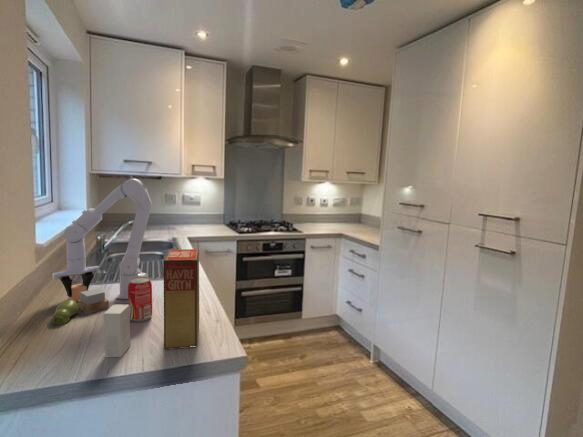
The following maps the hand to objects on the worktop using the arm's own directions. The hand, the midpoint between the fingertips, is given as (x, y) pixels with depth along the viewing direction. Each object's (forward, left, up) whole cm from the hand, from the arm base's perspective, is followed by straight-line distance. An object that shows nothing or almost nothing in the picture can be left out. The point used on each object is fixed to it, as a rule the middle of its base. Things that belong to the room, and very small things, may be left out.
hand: (77, 294), depth 124 cm
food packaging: (-43, +29, -2) cm, 52 cm away
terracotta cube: (0, 0, -1) cm, 1 cm away
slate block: (-9, +8, +1) cm, 12 cm away
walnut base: (-9, +8, -2) cm, 12 cm away
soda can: (-27, +16, -2) cm, 31 cm away
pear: (-4, +17, -2) cm, 18 cm away
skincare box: (-28, +37, -2) cm, 46 cm away
